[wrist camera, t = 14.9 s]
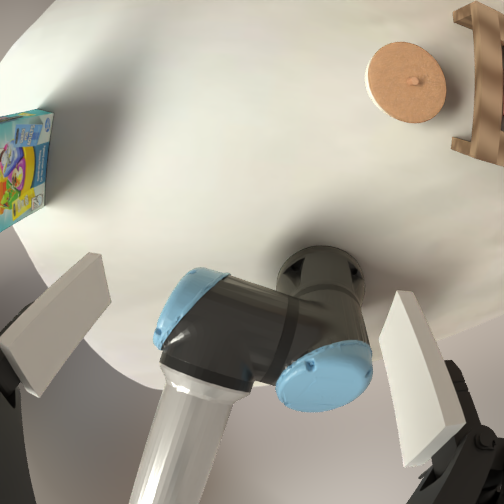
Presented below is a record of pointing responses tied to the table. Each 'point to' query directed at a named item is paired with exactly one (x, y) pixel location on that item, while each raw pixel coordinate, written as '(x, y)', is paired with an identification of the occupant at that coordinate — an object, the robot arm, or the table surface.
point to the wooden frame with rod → (485, 83)
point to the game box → (23, 164)
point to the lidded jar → (405, 82)
